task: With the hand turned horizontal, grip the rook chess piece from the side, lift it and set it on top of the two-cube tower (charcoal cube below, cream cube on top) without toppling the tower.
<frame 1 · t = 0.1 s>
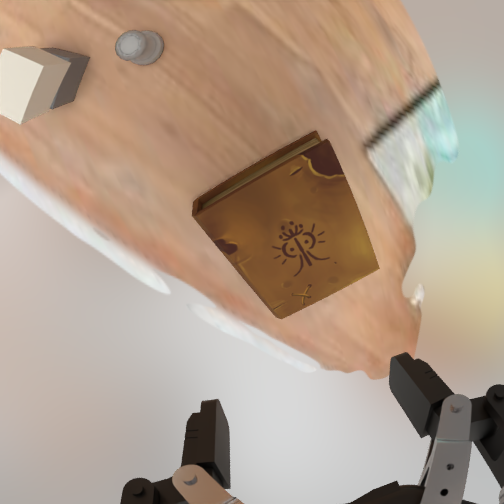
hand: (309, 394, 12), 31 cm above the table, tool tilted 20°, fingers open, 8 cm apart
tower base: (62, 73, 27), on the table, touching tower top
rook chess piece: (146, 48, 27), on the table
tower top: (40, 78, 22), point 6 cm above the table, touching tower base
diary: (290, 225, 45), on the table
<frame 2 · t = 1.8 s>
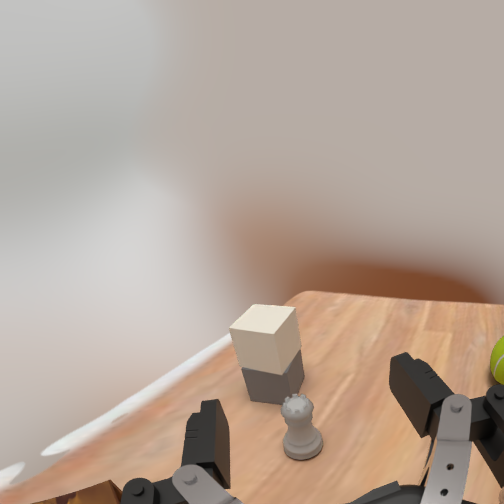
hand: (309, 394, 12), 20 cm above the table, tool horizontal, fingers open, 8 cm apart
tower base: (278, 388, 39), on the table, touching tower top
rook chess piece: (303, 447, 28), on the table
tower top: (271, 356, 37), point 6 cm above the table, touching tower base
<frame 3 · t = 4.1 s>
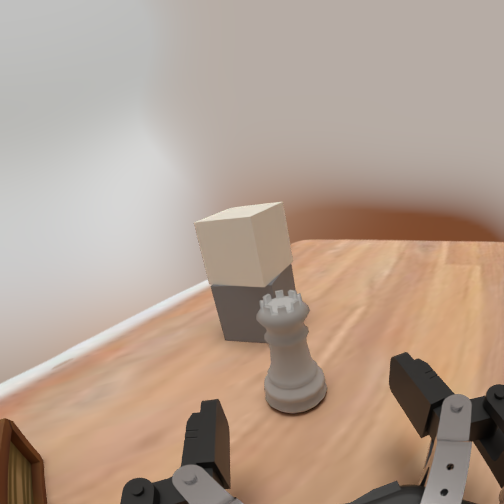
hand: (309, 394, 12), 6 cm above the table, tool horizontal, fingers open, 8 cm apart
tower base: (263, 326, 31), on the table, touching tower top
rook chess piece: (296, 396, 20), on the table
tower top: (252, 272, 29), point 6 cm above the table, touching tower base
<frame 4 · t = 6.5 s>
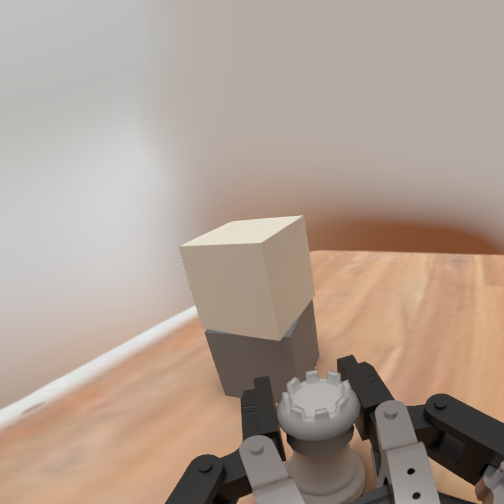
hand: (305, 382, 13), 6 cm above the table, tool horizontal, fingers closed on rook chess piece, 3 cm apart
tower base: (274, 375, 23), on the table, touching tower top
rook chess piece: (324, 487, 12), on the table, touching gripper
tower top: (260, 312, 21), point 6 cm above the table, touching tower base
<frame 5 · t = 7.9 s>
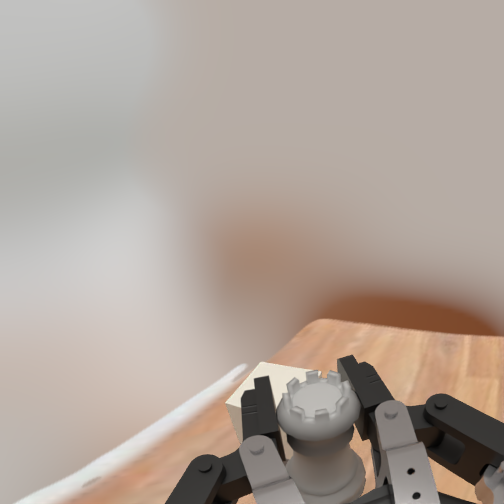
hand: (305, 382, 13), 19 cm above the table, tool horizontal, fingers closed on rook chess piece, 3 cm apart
rook chess piece: (324, 488, 12), point 13 cm above the table, touching gripper
tower top: (283, 431, 25), point 6 cm above the table, touching tower base
when the fingers open (19 cm above the table, at t = 9.6 s): rook chess piece stays where it is, resting on tower top.
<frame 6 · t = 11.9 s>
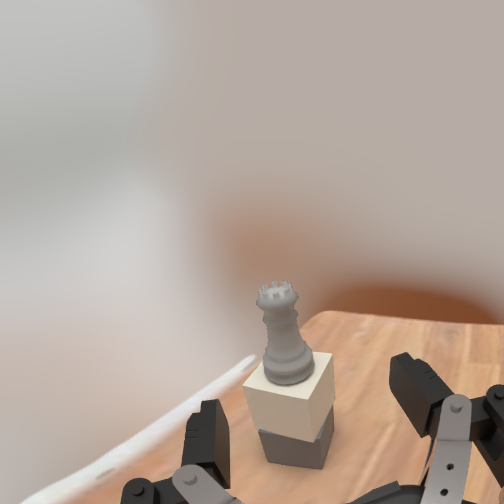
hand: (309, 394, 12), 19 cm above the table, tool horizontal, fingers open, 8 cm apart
tower base: (302, 446, 28), on the table, touching tower top
rook chess piece: (290, 371, 25), point 12 cm above the table, touching tower top
tower top: (296, 414, 26), point 6 cm above the table, touching rook chess piece, tower base
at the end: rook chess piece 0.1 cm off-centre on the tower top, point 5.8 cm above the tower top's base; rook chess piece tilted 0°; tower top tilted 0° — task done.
